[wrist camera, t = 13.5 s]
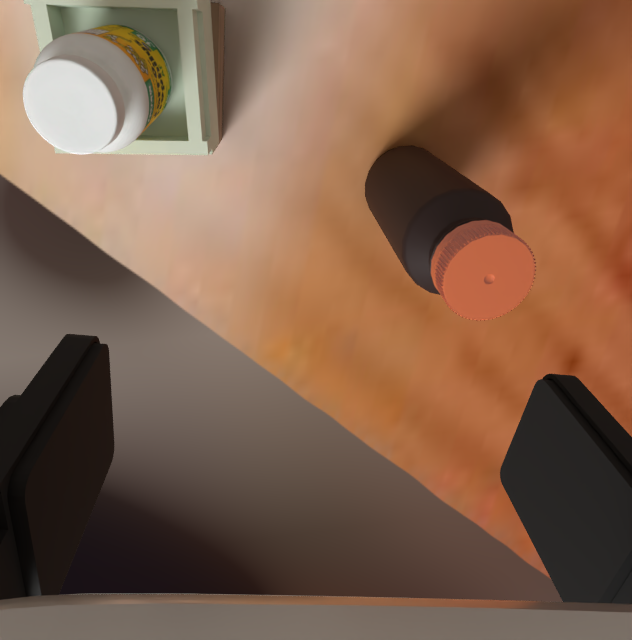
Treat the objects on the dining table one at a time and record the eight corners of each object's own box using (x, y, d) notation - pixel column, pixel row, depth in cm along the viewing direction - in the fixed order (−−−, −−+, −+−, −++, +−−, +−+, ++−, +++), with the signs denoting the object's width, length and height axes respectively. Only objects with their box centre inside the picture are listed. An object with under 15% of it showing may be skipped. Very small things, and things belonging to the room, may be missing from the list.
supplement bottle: (65, 34, 29) (-22, 51, 21) (156, 14, 29) (103, 25, 21) (103, 130, 32) (40, 178, 24) (186, 114, 32) (150, 157, 23)
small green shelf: (210, -4, 33) (195, -15, 27) (219, 142, 37) (208, 160, 31) (65, -9, 32) (19, -22, 26) (91, 141, 36) (56, 158, 30)
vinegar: (370, 140, 42) (439, 208, 24) (450, 148, 42) (574, 219, 25) (358, 221, 45) (411, 333, 27) (433, 227, 45) (532, 340, 28)
